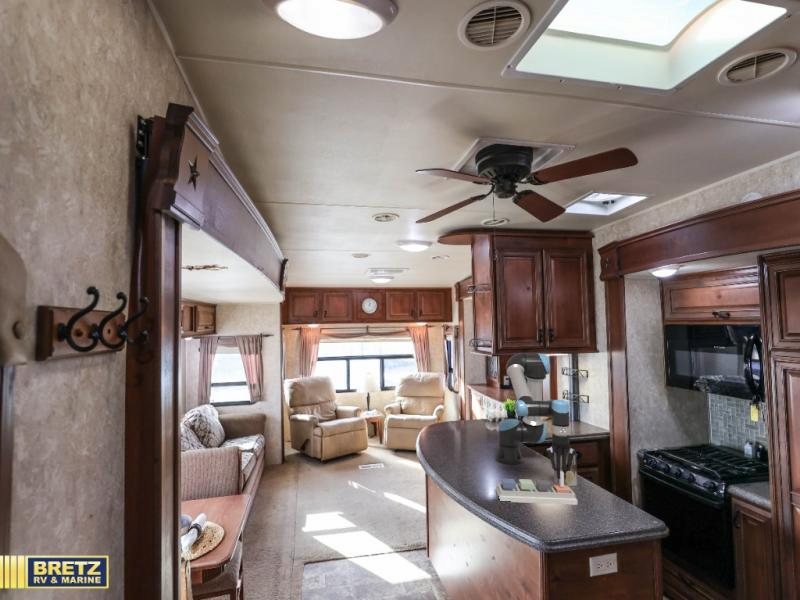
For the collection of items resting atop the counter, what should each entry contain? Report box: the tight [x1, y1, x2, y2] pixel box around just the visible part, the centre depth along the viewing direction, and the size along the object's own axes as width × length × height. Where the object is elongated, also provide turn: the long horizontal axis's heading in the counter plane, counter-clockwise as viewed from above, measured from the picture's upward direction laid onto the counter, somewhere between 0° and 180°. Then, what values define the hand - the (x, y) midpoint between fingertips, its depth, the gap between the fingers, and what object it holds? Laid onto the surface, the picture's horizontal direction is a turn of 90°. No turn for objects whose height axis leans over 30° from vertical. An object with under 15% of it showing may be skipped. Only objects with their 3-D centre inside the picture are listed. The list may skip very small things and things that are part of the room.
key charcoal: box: [535, 479, 553, 490], centre depth 198 cm, size 6×6×2 cm
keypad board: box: [495, 482, 579, 506], centre depth 198 cm, size 13×34×4 cm, turn 85°
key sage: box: [518, 478, 535, 490], centre depth 199 cm, size 6×6×2 cm
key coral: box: [553, 484, 570, 493], centre depth 198 cm, size 6×6×2 cm
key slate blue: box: [501, 478, 517, 489], centre depth 200 cm, size 6×6×2 cm
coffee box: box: [553, 450, 578, 487], centre depth 215 cm, size 9×6×16 cm
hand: (561, 485), depth 198 cm, fingers closed
